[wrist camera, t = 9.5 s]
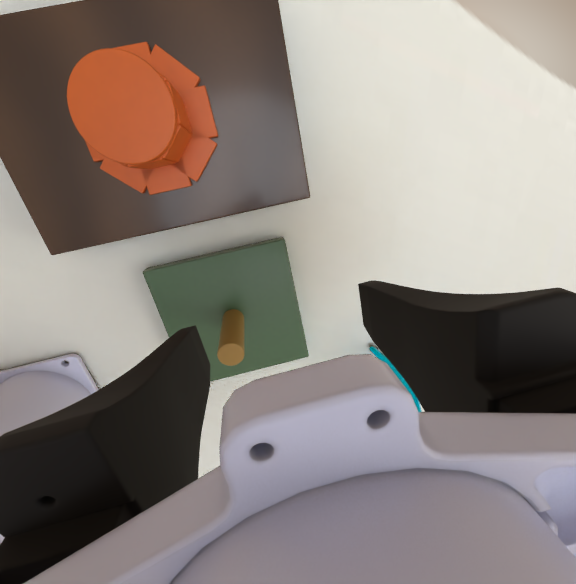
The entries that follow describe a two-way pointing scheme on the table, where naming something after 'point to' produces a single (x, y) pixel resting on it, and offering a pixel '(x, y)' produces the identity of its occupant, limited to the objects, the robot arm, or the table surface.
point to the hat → (142, 116)
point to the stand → (213, 74)
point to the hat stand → (234, 305)
